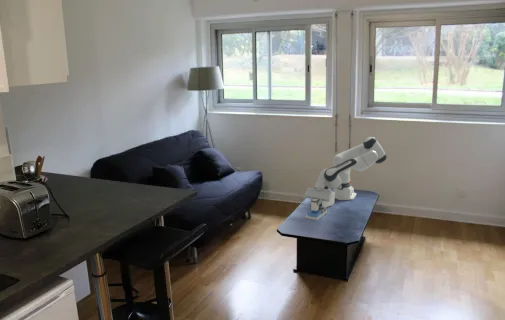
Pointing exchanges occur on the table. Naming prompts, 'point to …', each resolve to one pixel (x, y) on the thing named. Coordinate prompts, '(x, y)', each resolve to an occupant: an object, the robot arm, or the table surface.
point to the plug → (314, 204)
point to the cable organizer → (330, 203)
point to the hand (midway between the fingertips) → (314, 204)
